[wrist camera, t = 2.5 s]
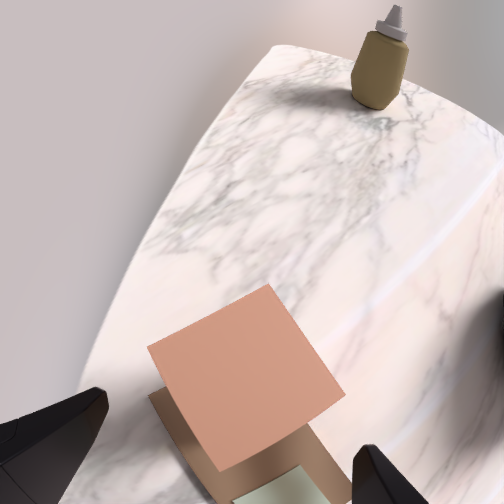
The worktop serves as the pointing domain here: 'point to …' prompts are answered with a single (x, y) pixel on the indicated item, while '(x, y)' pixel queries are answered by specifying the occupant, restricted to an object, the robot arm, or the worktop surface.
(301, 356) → the terracotta block
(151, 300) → the worktop surface
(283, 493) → the walnut board
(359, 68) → the squeeze bottle
